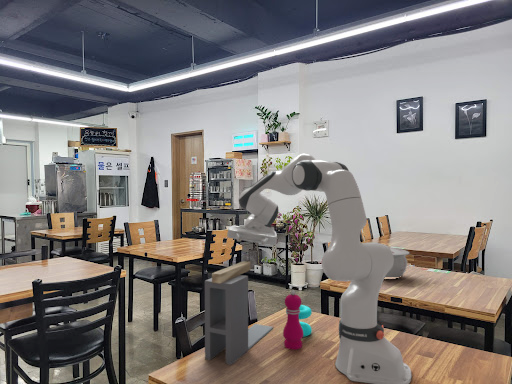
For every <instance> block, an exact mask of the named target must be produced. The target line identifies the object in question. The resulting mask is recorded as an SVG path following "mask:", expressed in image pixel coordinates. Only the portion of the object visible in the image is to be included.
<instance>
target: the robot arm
mask: <svg viewBox="0 0 512 384" xmlns="http://www.w3.org/2000/svg"><path fill="white" fill-rule="evenodd" d="M264 190H273V191H275V192H277V193H280V194H283V195H285V196H295V195H297V194H299V193H301V192H302V191H307V192H308V191H313V192H324V194H325V197H326V203H327V208H328V212H329V217H330V223H331V230H332V231H331V239H330V243H329V245H328V248H327V249H326V251H325V252H324V253H323V255H322V258H321V266H322V270H323V272H324V274H325V276H326V277H327V278H328V279H330V280H331V281H337V282H350V283H349V285H348V287H346V290H344V291H343V293H342V295H341V297H340V320H338V321H339V322H338V338H339V343H338V344H339V345H338V353H337V357H336V360H335V367H336V369H337V370H338V371H339V372H340V373H342V374H344V375H345V376H346V377H347V378H348V379H349V381H351V382H359V383H365V384H410V383H411V381H412V376H413V375H412V370H411V367H410V366H409V365H408V364H407V363H405V362H404V359H403V355H402V352H401V351H400V349H399V348H398V347H396V346H395V345H394V344H393V343H392V342H390V341H389V340H388V339H387V338H386V337H385V330H384V329H385V328H384V324H382V325H381V324H380V323H378V299H379V294H380V291H381V288H382V285H383V282H384V278H385V276H386V275H387V273H388V272H389V271H390V270H391V268H392V267H393V264H394V257H393V254H392V251H391V250H390V249H389V247H390V246H388V245H387V244H384V243H379V242H373V241H372V242H369V241H368V242H363V243H362V242H361V231H362V230H363V229H364V228H365V227H366V225H367V221H368V220H367V216H366V211H365V207H364V203H363V198H362V194H361V191H360V189H359V186H358V183H357V181H356V179H355V177H354V175H353V173H352V172H351V171H350V170H349V168H348V167H347V165H345V164H343V163H341V162H338V161H330V160H329V161H328V160H323V159H316V158H315V157H313V156H312V155H311V154H308V153H300V154H298V155H297V156H296V157H295V158H293V159H292V160H291V161H289V163H288V164H287V165H286V166H285V167H284V168H283V169H281V170H280V169H279V170H271V171H269V172H268V173H266V174H265V175H264V176H262V177H261V178H260V179H258V180H257V181H256V182H254V183H253V184H252V185H250V186H249V187H247V188H246V189H244V190H243V191H242V192H241V193H240V194H239V197H238V203H239V207H240V208H241V209H243V210H245V211H246V212H247V211H248V213H250V215H249V216H248V217H247V218H245V221H244V225H243V226H241V225H231V226H229V227H228V229H227V233H226V237H227V238H228V239H234V240H236V241H237V242H242V241H247V242H251V243H259V244H260V246H266V245H271V246H275V245H277V241H278V233H277V232H276V231H275V227H274V226H272V225H273V224H274V222H275V221H276V220H277V218H278V216H279V206H278V204H276V203H275V202H274V201H272V200H271V199H270V198H268V197H267V196H265V195H263V194H262V193H261V192H263V191H264ZM386 245H387V246H388V247H387V246H386Z"/></svg>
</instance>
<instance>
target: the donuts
mask: <svg viewBox="0 0 512 384" xmlns="http://www.w3.org/2000/svg"><path fill="white" fill-rule="evenodd" d="M299 308H300V313H299V322H300V325H301V327H302V330H303V337H302V338H304V337H309V335H311V334H312V330H313V329H312V327H311V325H310V324H309V323H307V322H305V321H300V320H306V319H308V318H310V317H311V315H312V314H313V311H312V308H311V307H309V306H308V305H305V304H301V306H300V307H299ZM285 312H286V311H285ZM286 314H287V312H286Z"/></svg>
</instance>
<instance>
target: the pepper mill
mask: <svg viewBox="0 0 512 384" xmlns="http://www.w3.org/2000/svg"><path fill="white" fill-rule="evenodd" d="M284 305H285V307H286V308H285V312H287V313H286V315H287V319H286V323H285V325H284V326H283V329H282V330H283V331H282V332H283V333H282V336H283V337H284V342H283V343H284V344H283V345H284V348H286V349H288V350H300V349H301V348H302V346H303V341H302V339H303V338H304V337H303V330H302V327H301V325H300V322H301V321H300V319H299V313H300V308H299V307H300V306H301V305H302V299H301V297H300V296H299V295H297V294H296V290H294V289H292V290H291V291H290V294H288V295H286V297H285V298H284ZM299 321H300V322H299Z"/></svg>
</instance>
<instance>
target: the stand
mask: <svg viewBox="0 0 512 384" xmlns="http://www.w3.org/2000/svg"><path fill="white" fill-rule="evenodd" d="M248 329H249V275H243V274H240V275H238V276H236V277H234V278H231V279H229V280H227V281H225V282H222V283H220V284H219V283H212V277H211V278H209V279H206V280H204V359H205V360H208V361H210V360H212V359H214V357H216V356H217V355H219V354H220V353H221V352H222V351H224V350H225V364H226V365H229V366H232V365H233V364H234V363H236V361H238V360H240V358H241V357H243V355H244V354H245V353H247V352H248V351H249V350H248Z"/></svg>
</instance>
